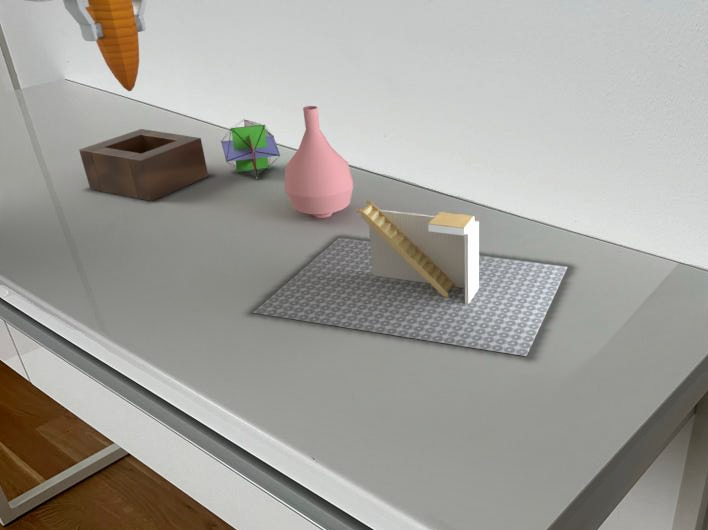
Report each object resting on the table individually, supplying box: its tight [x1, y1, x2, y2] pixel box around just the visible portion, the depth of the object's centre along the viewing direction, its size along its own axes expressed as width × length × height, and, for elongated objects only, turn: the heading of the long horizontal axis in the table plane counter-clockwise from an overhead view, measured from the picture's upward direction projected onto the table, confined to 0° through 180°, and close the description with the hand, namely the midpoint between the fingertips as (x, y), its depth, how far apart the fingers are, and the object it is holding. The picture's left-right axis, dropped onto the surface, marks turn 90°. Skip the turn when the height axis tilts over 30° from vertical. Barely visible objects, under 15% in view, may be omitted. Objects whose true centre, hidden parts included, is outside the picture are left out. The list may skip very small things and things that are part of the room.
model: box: [356, 199, 481, 304], centre depth 69 cm, size 3×11×8 cm, turn 74°
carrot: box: [85, 0, 140, 92], centre depth 85 cm, size 5×5×15 cm
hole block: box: [78, 128, 209, 202], centre depth 94 cm, size 10×10×5 cm
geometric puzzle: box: [220, 118, 282, 179], centre depth 97 cm, size 7×7×8 cm
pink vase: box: [284, 105, 355, 219], centre depth 83 cm, size 8×8×12 cm
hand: (115, 35), depth 86 cm, fingers closed on carrot, 5 cm apart
